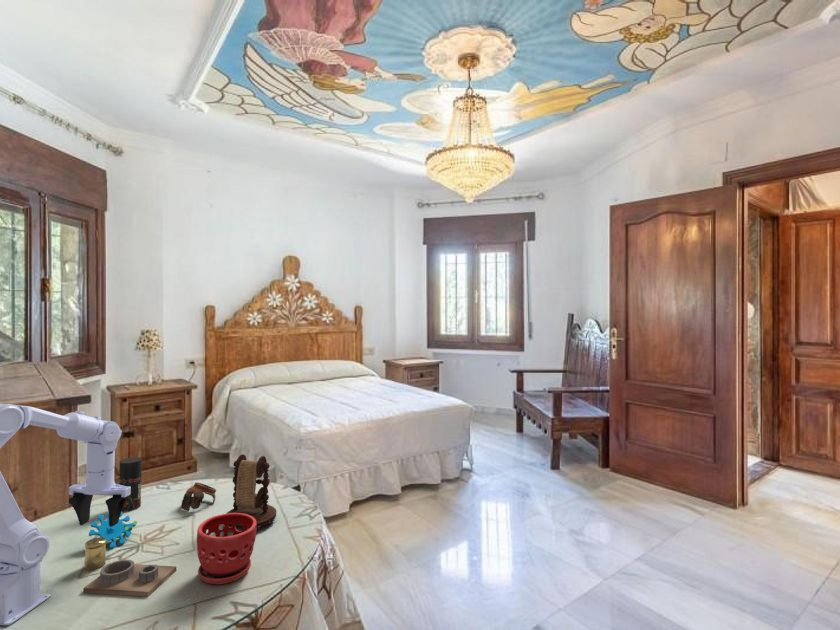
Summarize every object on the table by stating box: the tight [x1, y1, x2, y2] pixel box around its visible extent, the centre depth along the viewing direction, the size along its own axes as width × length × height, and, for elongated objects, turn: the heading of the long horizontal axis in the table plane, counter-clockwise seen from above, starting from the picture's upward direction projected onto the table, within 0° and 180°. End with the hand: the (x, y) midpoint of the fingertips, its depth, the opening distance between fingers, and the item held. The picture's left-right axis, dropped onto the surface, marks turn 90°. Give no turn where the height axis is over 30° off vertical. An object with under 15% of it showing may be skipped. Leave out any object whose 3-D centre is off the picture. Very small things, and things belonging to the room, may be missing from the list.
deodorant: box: [118, 457, 143, 513], centre depth 142 cm, size 6×6×15 cm
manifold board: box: [83, 559, 177, 597], centre depth 103 cm, size 10×15×3 cm, turn 86°
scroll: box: [225, 453, 277, 533], centre depth 133 cm, size 15×15×20 cm
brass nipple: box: [84, 536, 107, 572], centre depth 109 cm, size 4×4×6 cm
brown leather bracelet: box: [180, 481, 217, 512], centre depth 144 cm, size 12×10×8 cm
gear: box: [88, 511, 138, 549], centre depth 121 cm, size 11×6×10 cm
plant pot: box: [196, 512, 257, 585], centre depth 107 cm, size 13×13×12 cm
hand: (98, 524), depth 111 cm, fingers open, 7 cm apart
